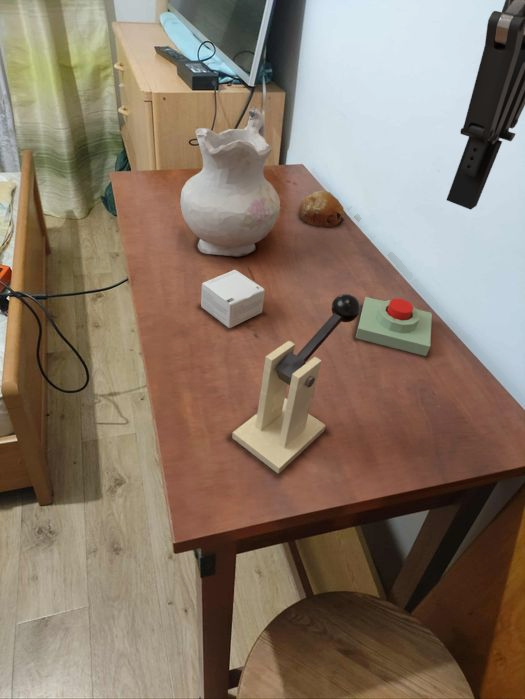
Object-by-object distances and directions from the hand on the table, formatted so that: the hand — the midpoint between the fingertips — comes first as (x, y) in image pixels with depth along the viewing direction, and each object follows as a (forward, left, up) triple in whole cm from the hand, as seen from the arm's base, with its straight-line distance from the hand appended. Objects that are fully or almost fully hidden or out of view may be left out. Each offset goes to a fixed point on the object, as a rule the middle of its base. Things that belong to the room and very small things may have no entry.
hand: (461, 202), depth 52 cm
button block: (0, -21, -32) cm, 39 cm away
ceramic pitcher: (+36, -38, -33) cm, 62 cm away
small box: (+28, -15, -33) cm, 45 cm away
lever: (+11, +4, -20) cm, 23 cm away
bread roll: (+20, -58, -33) cm, 69 cm away
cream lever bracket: (+13, +9, -32) cm, 36 cm away
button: (0, -21, -29) cm, 36 cm away
